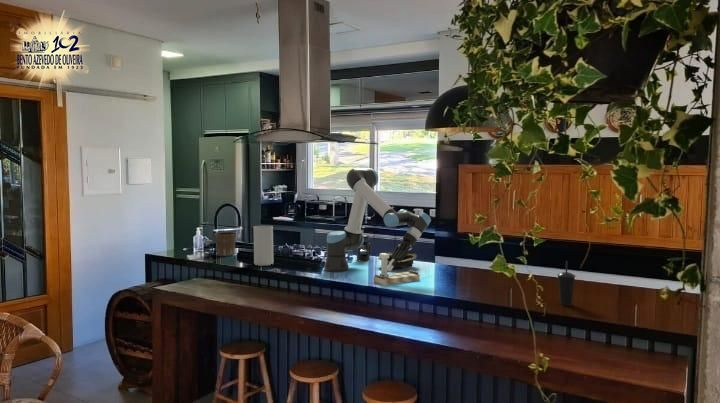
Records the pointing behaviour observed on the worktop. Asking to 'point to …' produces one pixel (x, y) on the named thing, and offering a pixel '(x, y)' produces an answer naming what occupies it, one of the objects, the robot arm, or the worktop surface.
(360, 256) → the french press
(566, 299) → the drinking cup
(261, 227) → the cylinder vase
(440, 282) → the worktop surface
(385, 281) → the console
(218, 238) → the plant pot
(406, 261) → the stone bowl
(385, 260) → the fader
